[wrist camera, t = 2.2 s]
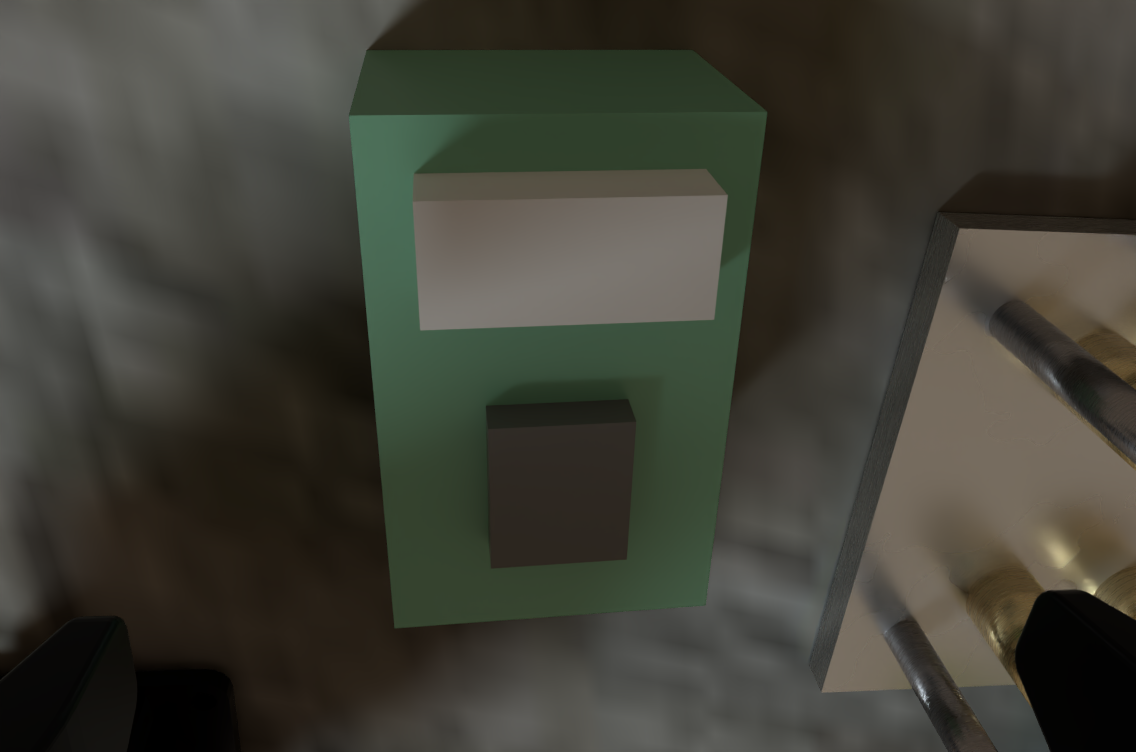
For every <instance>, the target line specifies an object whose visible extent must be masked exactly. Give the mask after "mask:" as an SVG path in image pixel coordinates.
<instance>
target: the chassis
mask: <svg viewBox="0 0 1136 752" xmlns="http://www.w3.org/2000/svg"><path fill="white" fill-rule="evenodd" d="M1066 589H1077V590H1082V591H1086V592H1088V593H1090V594H1091V595H1093V596H1095V597H1097V598H1098V599H1100V600H1102V601H1104V602H1105V603H1107V604H1109V605H1111V606H1112V607H1114V608H1116V609H1118V610H1119V611H1121V612H1123V613H1125V614H1126V615H1128V616H1130V617H1132V618H1133V619H1135V620H1136V220H1125V219H1100V218H1074V217H1049V216H1023V215H998V214H973V213H947V212H938V213H937V217H936V220H935V224H934V228H933V231H932V235H931V238H930V242H929V245H928V249H927V252H926V256H925V259H924V263H923V266H922V270H921V273H920V277H919V280H918V284H917V287H916V291H915V294H914V298H913V302H912V305H911V309H910V312H909V316H908V319H907V323H906V326H905V330H904V333H903V337H902V340H901V344H900V347H899V351H898V354H897V358H896V361H895V365H894V368H893V372H892V376H891V379H890V383H889V386H888V390H887V393H886V397H885V400H884V404H883V407H882V411H881V414H880V418H879V421H878V425H877V428H876V432H875V435H874V439H873V442H872V446H871V450H870V453H869V457H868V460H867V464H866V467H865V471H864V474H863V478H862V481H861V485H860V488H859V492H858V495H857V499H856V502H855V506H854V509H853V513H852V516H851V520H850V524H849V527H848V531H847V534H846V538H845V541H844V545H843V548H842V552H841V555H840V559H839V562H838V566H837V569H836V573H835V576H834V580H833V583H832V587H831V590H830V594H829V598H828V601H827V605H826V608H825V612H824V615H823V619H822V622H821V626H820V629H819V633H818V636H817V640H816V643H815V647H814V650H813V654H812V657H811V661H810V664H809V666H810V669H811V671H812V673H813V675H814V677H815V680H816V682H817V684H818V686H819V688H820V691H821V693H822V692H846V691H870V690H894V689H913V690H914V692H915V694H916V696H917V697H918V699H919V701H920V703H921V704H922V706H923V708H924V710H925V711H926V713H927V715H928V717H929V719H930V720H931V722H932V724H933V726H934V727H935V729H936V731H937V733H938V734H939V736H940V738H941V740H942V742H943V743H944V745H945V747H946V749H947V750H948V752H998V751H997V750H996V748H995V746H994V745H993V743H992V742H991V740H990V738H989V737H988V735H987V733H986V732H985V730H984V729H983V727H982V725H981V724H980V722H979V721H978V719H977V717H976V716H975V714H974V712H973V711H972V709H971V708H970V706H969V704H968V703H967V701H966V700H965V698H964V696H963V695H962V693H961V691H960V690H959V688H958V687H967V686H991V685H1015V684H1016V686H1017V687H1018V688H1019V690H1020V691H1021V693H1022V694H1023V696H1024V697H1025V699H1026V700H1027V701H1028V703H1029V704H1030V701H1029V699H1028V696H1027V694H1026V692H1025V689H1024V687H1023V684H1022V682H1021V680H1020V677H1019V675H1018V672H1017V669H1016V664H1015V648H1016V645H1017V642H1018V640H1019V637H1020V635H1021V633H1022V630H1023V628H1024V625H1025V623H1026V621H1027V618H1028V616H1029V613H1030V611H1031V609H1032V606H1033V604H1034V601H1035V600H1036V598H1037V597H1038V596H1039V595H1040V594H1041V593H1042V592H1044V591H1047V590H1066ZM1030 706H1031V704H1030ZM1031 707H1032V706H1031Z"/></svg>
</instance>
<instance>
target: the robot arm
mask: <svg viewBox="0 0 1136 752" xmlns="http://www.w3.org/2000/svg"><path fill="white" fill-rule="evenodd" d="M1015 664H1016V669H1017V672H1018V675H1019V677H1020V680H1021V682H1022V684H1023V687H1024V689H1025V692H1026V694H1027V696H1028V699H1029V701H1030V704H1031V706H1032V708H1033V711H1034V713H1035V716H1036V718H1037V720H1038V723H1039V725H1040V728H1041V730H1042V732H1043V735H1044V737H1045V740H1046V742H1047V744H1048V747H1049V749H1050V752H1136V620H1135V619H1133V618H1132V617H1130V616H1128V615H1126V614H1125V613H1123V612H1121V611H1119V610H1118V609H1116V608H1114V607H1112V606H1111V605H1109V604H1107V603H1105V602H1104V601H1102V600H1100V599H1098V598H1097V597H1095V596H1093V595H1091V594H1090V593H1088V592H1086V591H1082V590H1077V589H1066V590H1047V591H1044V592H1042V593H1041V594H1040V595H1039V596H1038V597H1037V598H1036V600H1035V601H1034V604H1033V606H1032V609H1031V611H1030V613H1029V616H1028V618H1027V621H1026V623H1025V625H1024V628H1023V630H1022V633H1021V635H1020V637H1019V640H1018V642H1017V645H1016V648H1015ZM200 693H208V694H211V695H202V694H200ZM0 752H241V750H240V741H239V733H238V725H237V717H236V708H235V700H234V692H233V685H232V683H231V680H230V679H229V678H228V677H227V676H226V675H225V674H223V673H221V672H218V671H216V670H208V669H196V670H167V671H138V672H135V668H134V663H133V657H132V652H131V646H130V641H129V635H128V630H127V626H126V624H125V622H124V621H123V619H122V618H120V617H118V616H86V617H77V618H74V619H72V620H70V621H68V622H67V623H66V624H64V625H63V626H62V627H61V628H60V629H59V630H57V631H56V632H55V633H54V634H53V635H52V636H50V637H49V638H48V639H47V640H46V641H45V642H44V643H42V644H41V645H40V646H39V647H38V648H37V649H35V650H34V651H33V652H32V653H31V654H30V655H29V656H27V657H26V658H25V659H24V660H23V661H22V662H20V663H19V664H18V665H17V666H16V667H15V668H14V669H12V670H11V671H10V672H9V673H8V674H7V675H5V676H0Z"/></svg>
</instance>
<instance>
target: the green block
mask: <svg viewBox="0 0 1136 752" xmlns="http://www.w3.org/2000/svg"><path fill="white" fill-rule="evenodd" d="M766 119H767V111H766V110H765V109H763V108H762V107H761V106H760V105H759V104H757V103H756V102H755V101H754V100H753V99H751V98H750V97H749V96H748V95H746V94H745V93H744V92H743V91H742V90H740V89H739V88H738V87H737V86H736V85H734V84H733V83H732V82H731V81H730V80H728V79H727V78H726V77H725V76H724V75H722V74H721V73H720V72H719V71H717V70H716V69H715V68H714V67H713V66H711V65H710V64H709V63H708V62H707V61H705V60H704V59H703V58H702V57H701V56H699V55H698V54H697V53H696V52H694V51H693V50H367V51H366V55H365V58H364V62H363V66H362V69H361V73H360V77H359V80H358V84H357V88H356V91H355V95H354V99H353V102H352V106H351V110H350V113H349V122H350V134H351V145H352V156H353V167H354V178H355V190H356V201H357V212H358V223H359V235H360V246H361V257H362V268H363V280H364V291H365V302H366V313H367V325H368V336H369V347H370V358H371V370H372V381H373V392H374V403H375V414H376V426H377V437H378V448H379V459H380V471H381V482H382V493H383V504H384V516H385V527H386V538H387V549H388V561H389V572H390V583H391V594H392V606H393V617H394V628H406V627H420V626H434V625H447V624H461V623H474V622H488V621H501V620H515V619H529V618H542V617H556V616H569V615H583V614H596V613H610V612H623V611H637V610H651V609H664V608H678V607H691V606H705V605H706V597H707V589H708V581H709V573H710V565H711V557H712V549H713V541H714V534H715V526H716V518H717V510H718V502H719V494H720V486H721V478H722V470H723V462H724V454H725V446H726V438H727V430H728V422H729V414H730V406H731V398H732V390H733V382H734V374H735V366H736V358H737V350H738V342H739V334H740V326H741V318H742V310H743V302H744V295H745V287H746V279H747V271H748V263H749V255H750V247H751V239H752V231H753V223H754V215H755V207H756V199H757V191H758V183H759V175H760V167H761V159H762V151H763V143H764V135H765V127H766Z"/></svg>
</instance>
